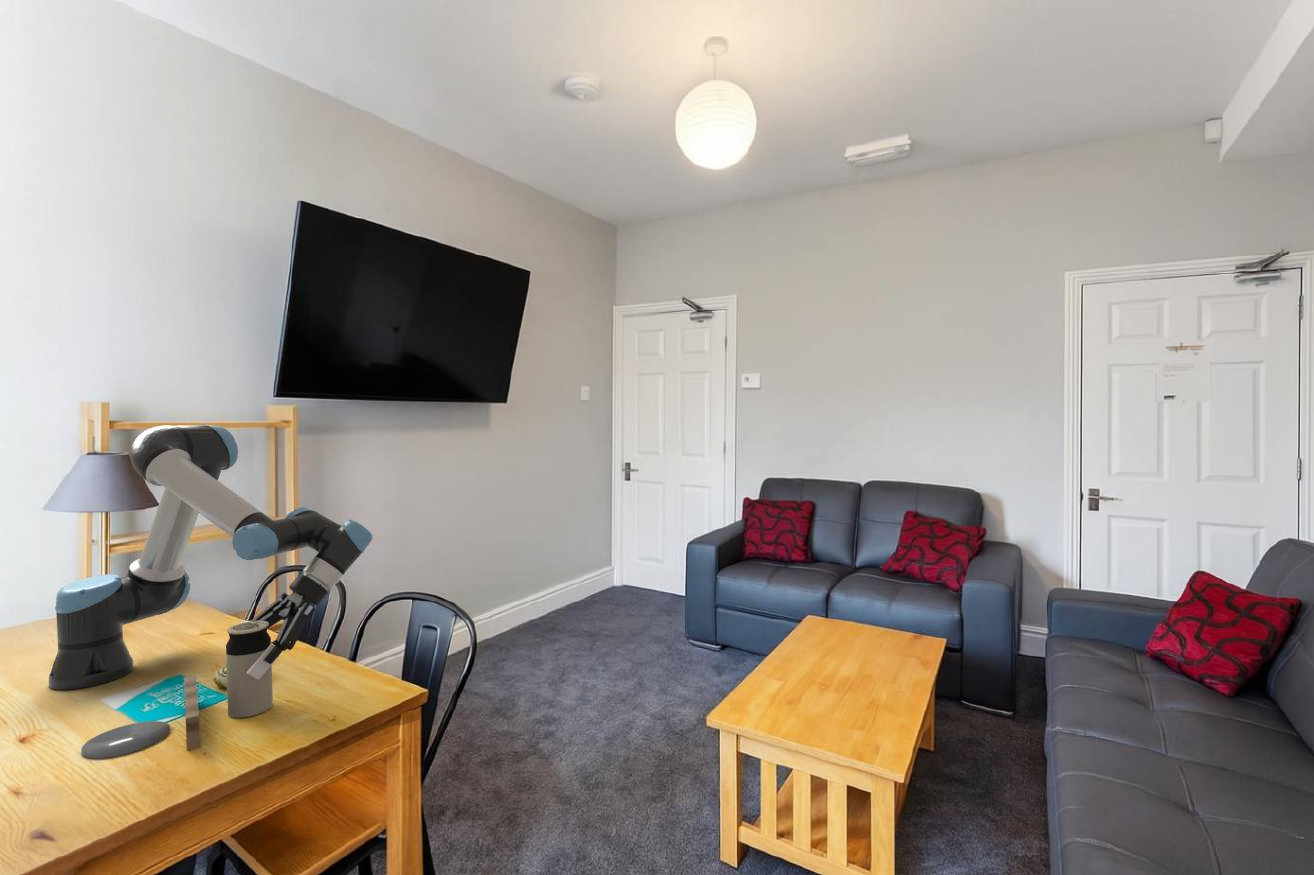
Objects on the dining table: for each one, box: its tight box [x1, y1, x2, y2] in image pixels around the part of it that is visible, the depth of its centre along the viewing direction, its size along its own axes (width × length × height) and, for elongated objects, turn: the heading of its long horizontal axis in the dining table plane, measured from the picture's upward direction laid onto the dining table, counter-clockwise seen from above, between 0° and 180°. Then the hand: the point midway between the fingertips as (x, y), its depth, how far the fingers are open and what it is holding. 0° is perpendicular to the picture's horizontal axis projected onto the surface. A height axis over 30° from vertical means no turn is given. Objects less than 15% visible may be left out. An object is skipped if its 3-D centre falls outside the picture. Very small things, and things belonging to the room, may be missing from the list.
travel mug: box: [225, 620, 274, 719], centre depth 132 cm, size 8×8×18 cm
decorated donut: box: [212, 666, 227, 690], centre depth 147 cm, size 10×11×4 cm
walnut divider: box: [183, 674, 201, 751], centre depth 126 cm, size 24×2×6 cm, turn 38°
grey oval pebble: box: [80, 720, 171, 760], centre depth 120 cm, size 13×13×1 cm
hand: (241, 668), depth 131 cm, fingers open, 13 cm apart
